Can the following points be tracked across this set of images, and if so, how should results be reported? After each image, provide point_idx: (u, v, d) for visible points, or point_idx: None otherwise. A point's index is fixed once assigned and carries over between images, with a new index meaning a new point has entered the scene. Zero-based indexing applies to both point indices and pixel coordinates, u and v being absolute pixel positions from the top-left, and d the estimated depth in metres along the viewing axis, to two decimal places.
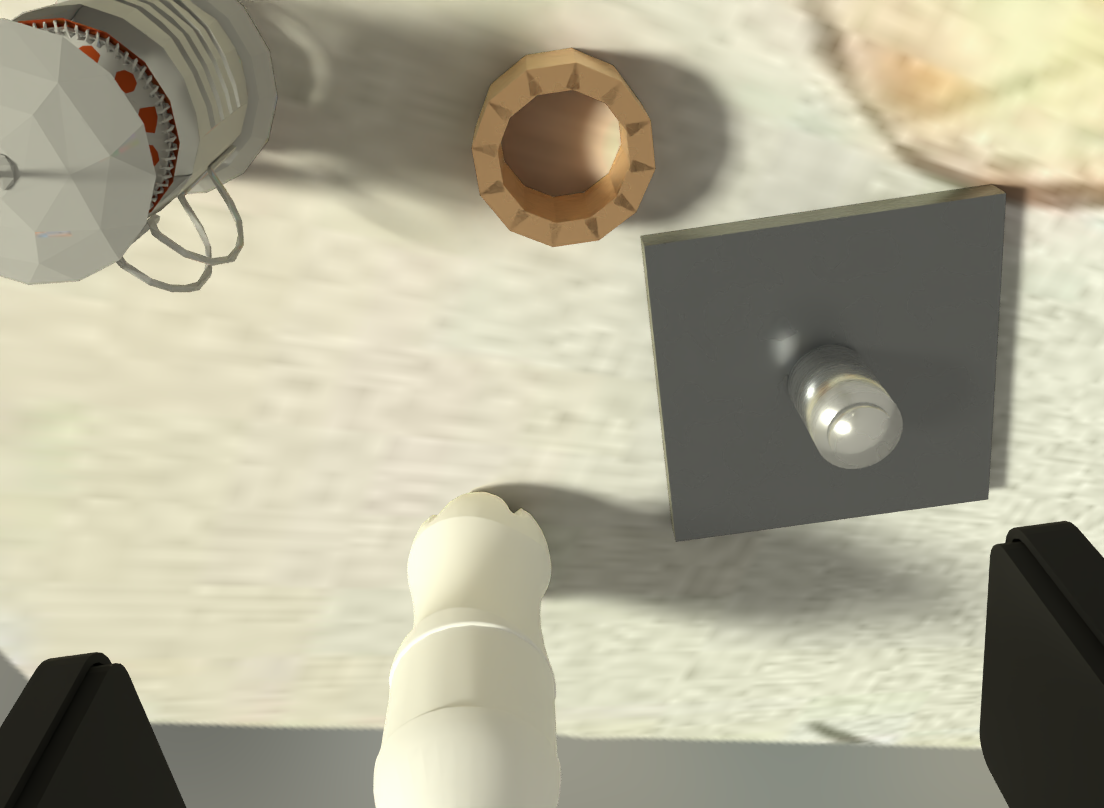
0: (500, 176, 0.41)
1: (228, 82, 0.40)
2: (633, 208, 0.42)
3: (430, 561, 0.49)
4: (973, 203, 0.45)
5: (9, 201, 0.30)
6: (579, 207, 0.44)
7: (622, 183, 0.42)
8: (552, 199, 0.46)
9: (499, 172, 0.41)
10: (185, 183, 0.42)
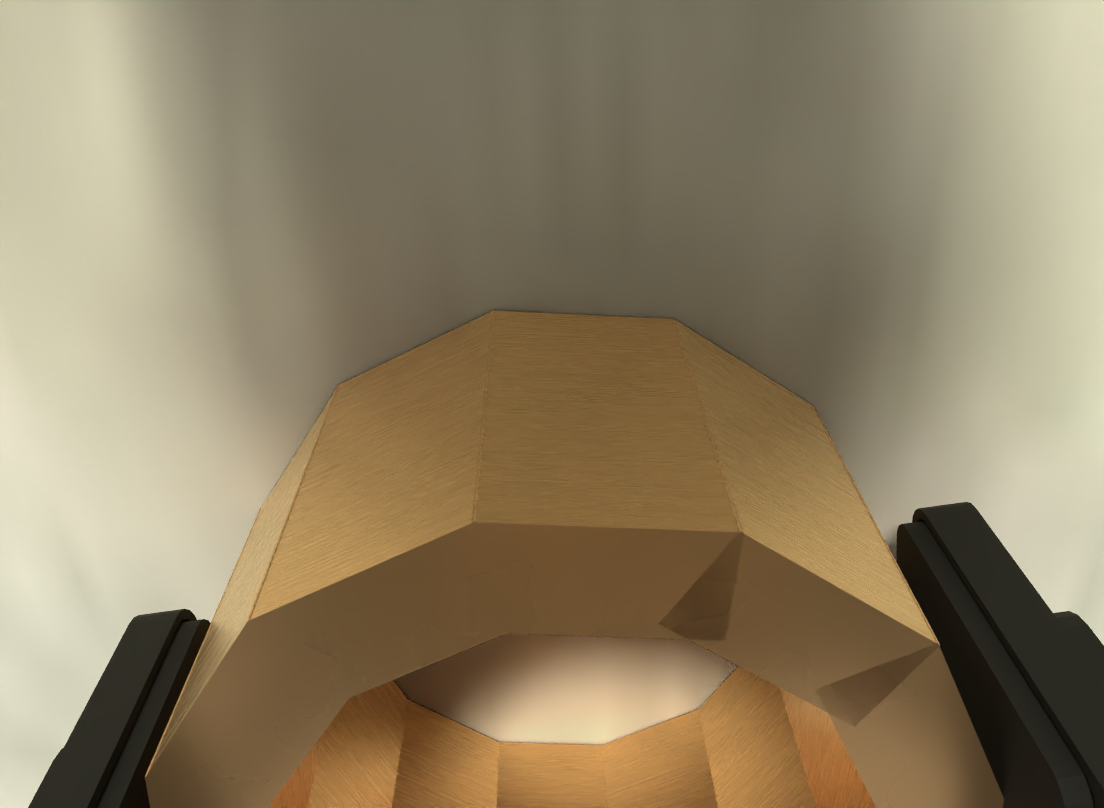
0: (385, 677, 0.08)
1: None
2: None
3: None
4: None
5: None
6: None
7: None
8: None
9: (402, 667, 0.08)
10: None
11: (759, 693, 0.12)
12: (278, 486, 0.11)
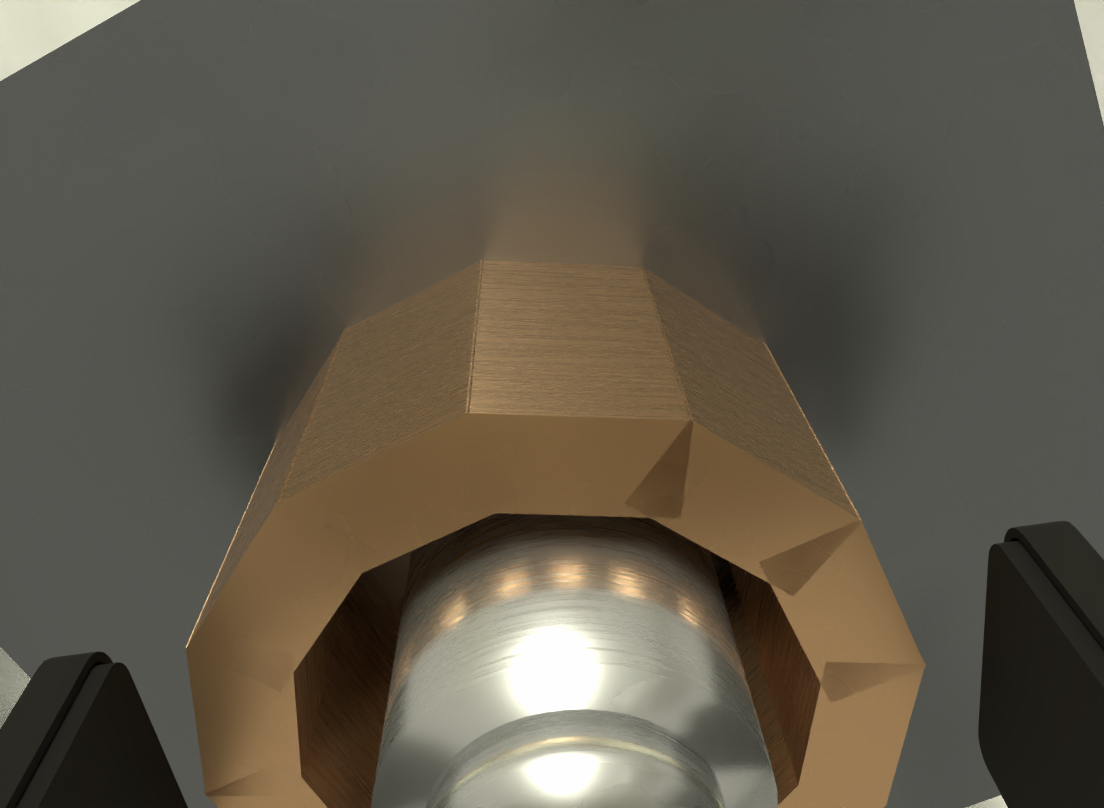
0: (392, 553, 0.09)
1: None
2: None
3: None
4: None
5: None
6: (374, 727, 0.12)
7: None
8: None
9: (407, 545, 0.09)
10: None
11: None
12: (291, 420, 0.13)
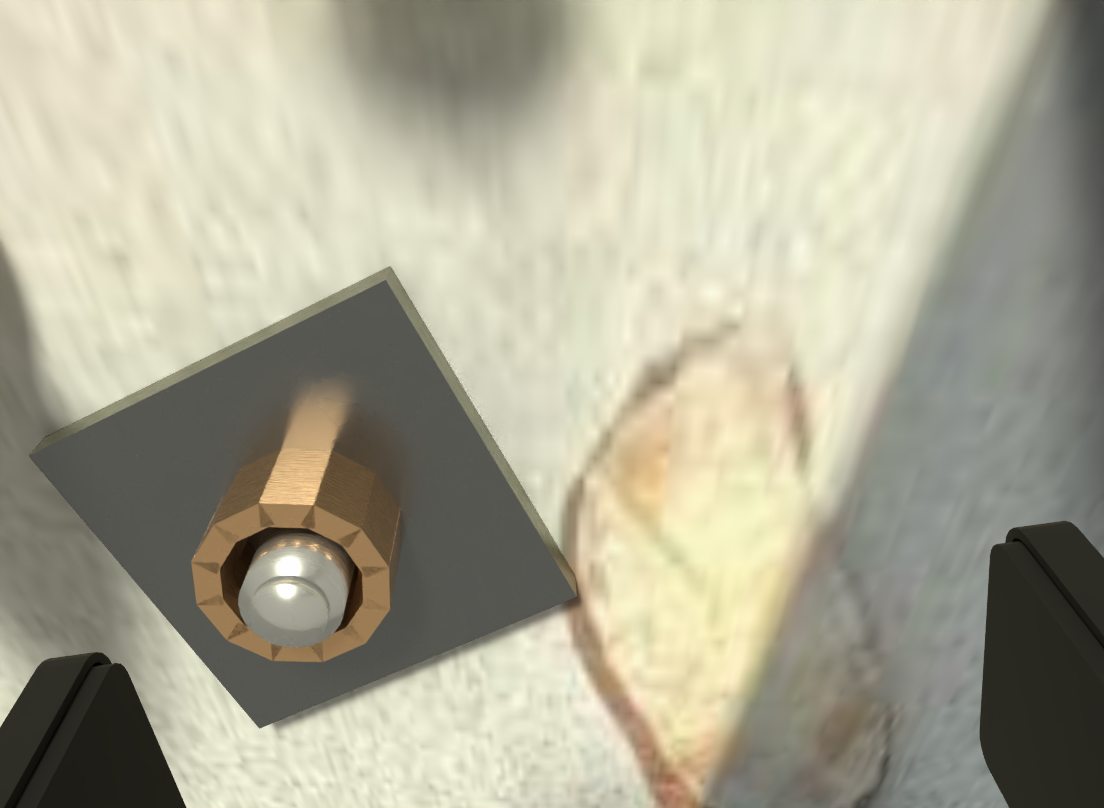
0: (243, 537, 0.37)
1: None
2: (274, 658, 0.40)
3: None
4: (557, 574, 0.43)
5: None
6: None
7: None
8: (245, 544, 0.41)
9: (247, 535, 0.37)
10: None
11: None
12: (224, 496, 0.41)
